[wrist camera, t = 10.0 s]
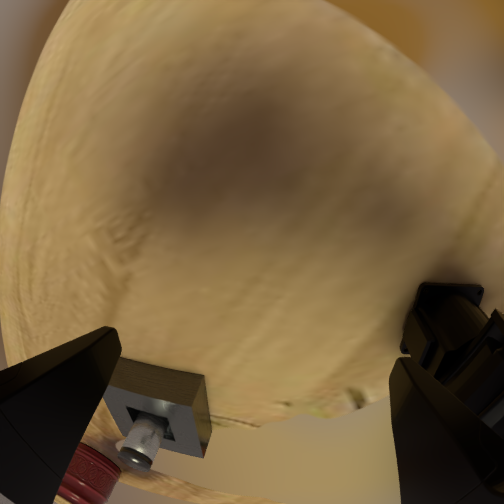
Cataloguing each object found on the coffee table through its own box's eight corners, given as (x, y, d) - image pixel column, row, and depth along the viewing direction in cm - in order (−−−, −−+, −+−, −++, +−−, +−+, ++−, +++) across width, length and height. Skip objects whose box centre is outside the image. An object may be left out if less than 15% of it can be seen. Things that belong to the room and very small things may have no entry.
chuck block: (203, 375, 25) (191, 406, 22) (212, 431, 29) (203, 458, 25) (55, 337, 28) (36, 356, 24) (81, 393, 31) (67, 412, 28)
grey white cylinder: (146, 390, 26) (115, 450, 19) (175, 401, 26) (148, 464, 19) (147, 406, 27) (120, 462, 20) (174, 416, 27) (150, 474, 20)
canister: (107, 474, 46) (80, 527, 29) (63, 441, 43) (29, 494, 27) (132, 473, 41) (102, 538, 25) (79, 436, 39) (40, 501, 23)
